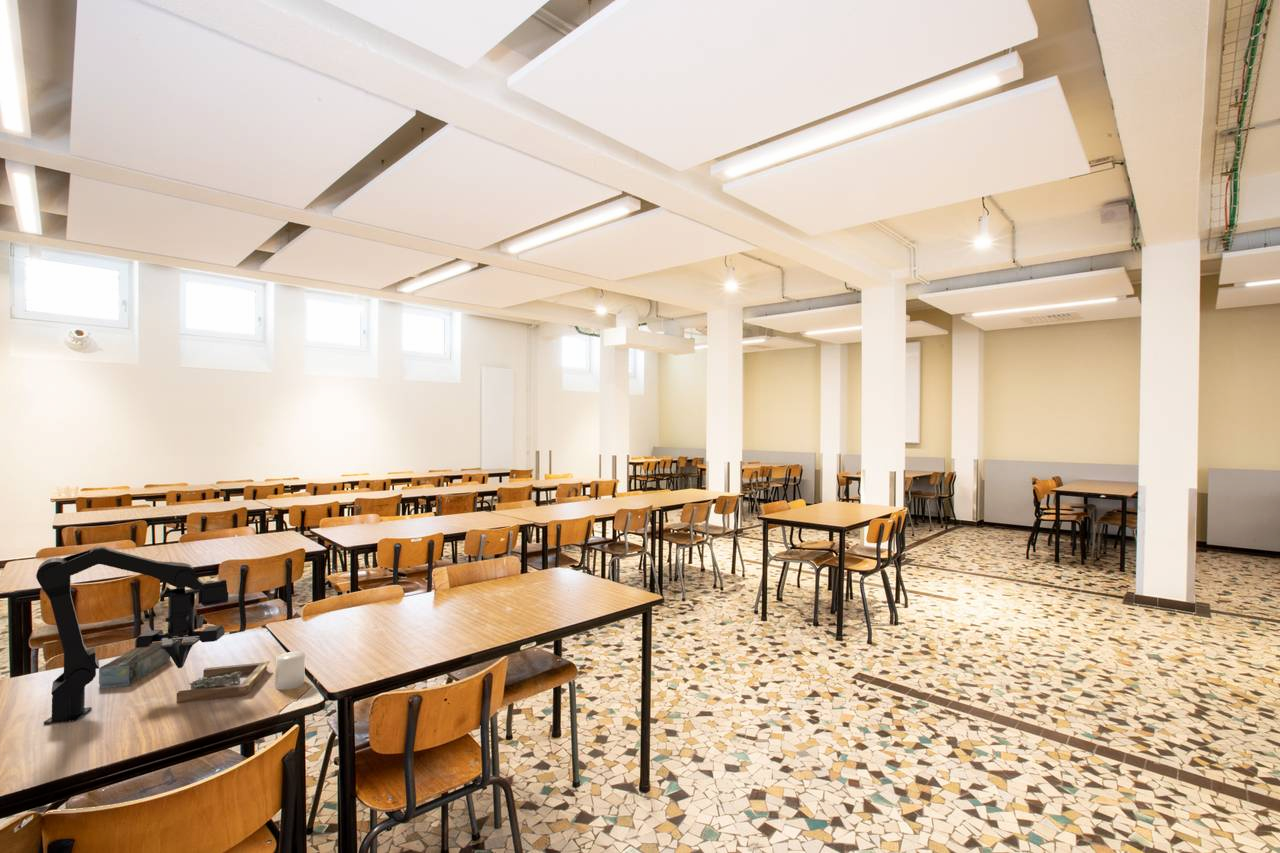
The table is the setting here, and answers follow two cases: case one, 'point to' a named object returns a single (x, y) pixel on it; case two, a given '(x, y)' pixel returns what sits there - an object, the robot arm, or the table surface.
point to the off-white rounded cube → (290, 670)
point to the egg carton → (217, 681)
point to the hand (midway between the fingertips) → (180, 667)
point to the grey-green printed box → (132, 666)
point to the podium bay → (225, 691)
